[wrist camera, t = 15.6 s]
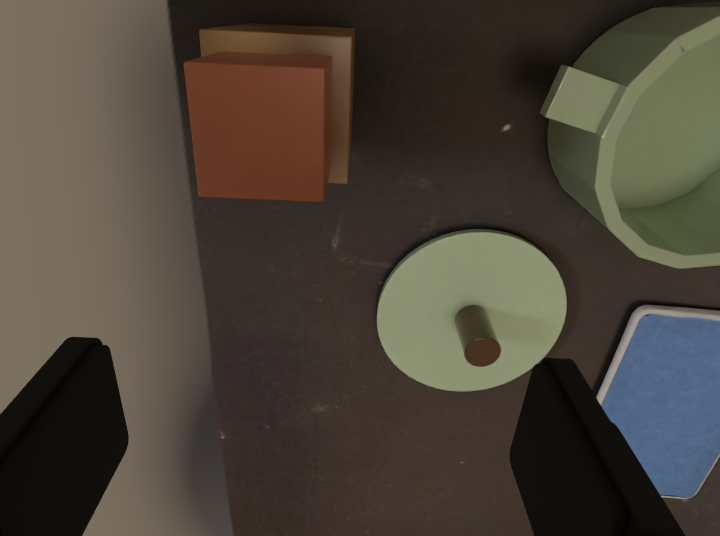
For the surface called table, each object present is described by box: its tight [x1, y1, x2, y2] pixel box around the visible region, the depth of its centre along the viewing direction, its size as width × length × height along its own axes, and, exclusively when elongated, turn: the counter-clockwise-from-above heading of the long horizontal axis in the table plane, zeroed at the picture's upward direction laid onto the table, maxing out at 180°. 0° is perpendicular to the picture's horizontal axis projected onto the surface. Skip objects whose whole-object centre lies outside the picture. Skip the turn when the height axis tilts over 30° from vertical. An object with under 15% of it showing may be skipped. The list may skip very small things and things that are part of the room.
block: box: [184, 51, 333, 202], centre depth 19 cm, size 4×4×4 cm
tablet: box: [596, 305, 720, 499], centre depth 41 cm, size 19×13×1 cm, turn 174°
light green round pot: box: [540, 2, 720, 269], centre depth 27 cm, size 13×18×8 cm
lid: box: [377, 229, 567, 391], centre depth 35 cm, size 14×14×5 cm
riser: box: [199, 23, 356, 184], centre depth 25 cm, size 6×6×10 cm
